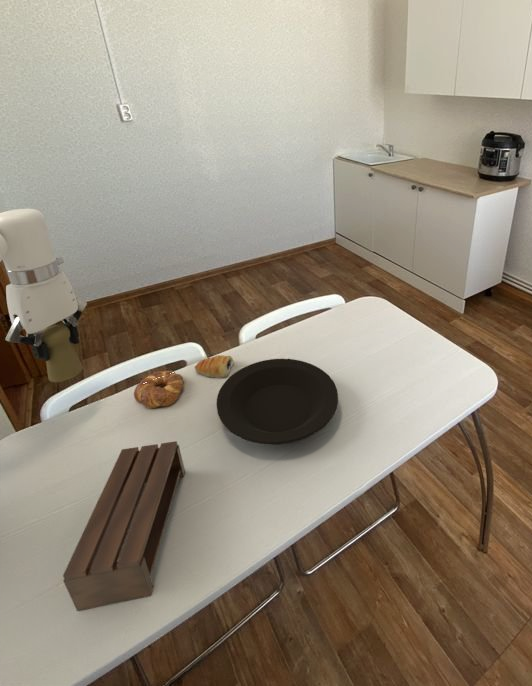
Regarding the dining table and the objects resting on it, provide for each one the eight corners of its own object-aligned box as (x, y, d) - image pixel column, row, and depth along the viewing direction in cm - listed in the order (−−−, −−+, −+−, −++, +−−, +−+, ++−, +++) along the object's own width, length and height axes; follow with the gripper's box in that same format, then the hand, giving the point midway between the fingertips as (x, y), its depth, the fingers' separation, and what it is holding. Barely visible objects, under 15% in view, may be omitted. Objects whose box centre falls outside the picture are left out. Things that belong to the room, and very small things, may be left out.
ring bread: (193, 394, 94) (190, 382, 93) (145, 419, 87) (141, 407, 86) (175, 370, 102) (173, 359, 101) (130, 392, 95) (127, 380, 94)
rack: (76, 611, 55) (60, 576, 52) (130, 480, 73) (120, 449, 71) (151, 595, 56) (139, 561, 54) (185, 471, 75) (178, 440, 72)
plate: (194, 432, 83) (190, 412, 81) (263, 365, 104) (261, 348, 102) (302, 483, 72) (300, 462, 70) (356, 396, 92) (356, 378, 90)
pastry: (191, 379, 99) (189, 367, 98) (201, 362, 105) (199, 350, 104) (227, 378, 99) (225, 366, 98) (235, 361, 105) (233, 350, 104)
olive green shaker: (54, 367, 84) (40, 324, 80) (86, 360, 86) (74, 318, 82) (43, 385, 79) (28, 340, 75) (78, 378, 81) (64, 333, 77)
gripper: (66, 253, 83) (86, 325, 89) (-32, 288, 68) (0, 372, 74) (90, 258, 81) (109, 331, 87) (-6, 295, 66) (25, 381, 72)
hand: (58, 349), depth 80 cm, fingers closed on olive green shaker, 5 cm apart
